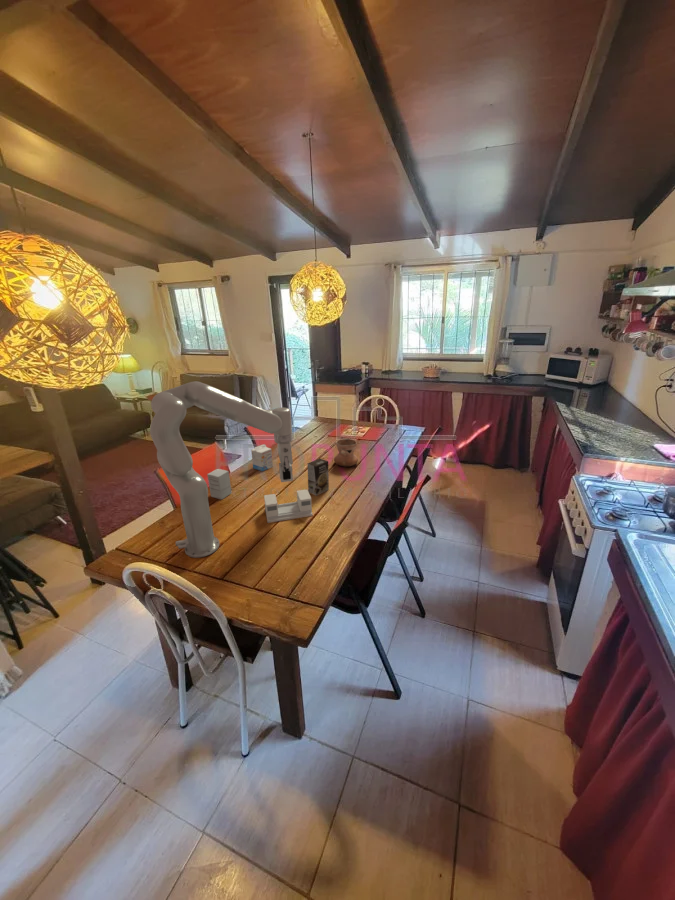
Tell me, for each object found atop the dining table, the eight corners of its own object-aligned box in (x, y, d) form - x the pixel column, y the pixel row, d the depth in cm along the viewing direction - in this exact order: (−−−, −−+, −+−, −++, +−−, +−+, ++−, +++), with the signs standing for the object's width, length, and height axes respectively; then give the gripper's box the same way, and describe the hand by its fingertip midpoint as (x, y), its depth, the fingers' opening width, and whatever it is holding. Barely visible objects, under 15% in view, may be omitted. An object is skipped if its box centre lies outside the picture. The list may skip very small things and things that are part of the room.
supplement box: (221, 490, 178) (217, 468, 173) (232, 493, 175) (229, 470, 170) (210, 496, 172) (206, 473, 167) (221, 499, 169) (218, 476, 164)
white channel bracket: (267, 522, 150) (266, 506, 147) (265, 508, 160) (263, 493, 158) (312, 515, 155) (312, 500, 152) (307, 502, 166) (306, 487, 163)
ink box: (262, 471, 199) (260, 450, 194) (252, 468, 203) (250, 447, 198) (273, 466, 205) (271, 445, 200) (263, 463, 210) (261, 442, 205)
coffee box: (316, 496, 171) (315, 466, 165) (307, 492, 175) (306, 463, 170) (329, 489, 178) (328, 461, 172) (320, 485, 182) (319, 457, 176)
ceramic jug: (354, 470, 199) (355, 447, 194) (330, 468, 202) (330, 445, 197) (360, 459, 215) (361, 438, 210) (338, 457, 218) (338, 435, 213)
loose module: (293, 480, 150) (292, 466, 147) (281, 482, 149) (280, 467, 146) (291, 475, 154) (290, 461, 152) (279, 477, 153) (278, 463, 150)
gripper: (295, 443, 138) (297, 483, 144) (289, 430, 153) (291, 467, 160) (276, 445, 136) (280, 486, 142) (272, 432, 151) (275, 469, 158)
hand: (286, 476), depth 151 cm, fingers closed on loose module, 5 cm apart
